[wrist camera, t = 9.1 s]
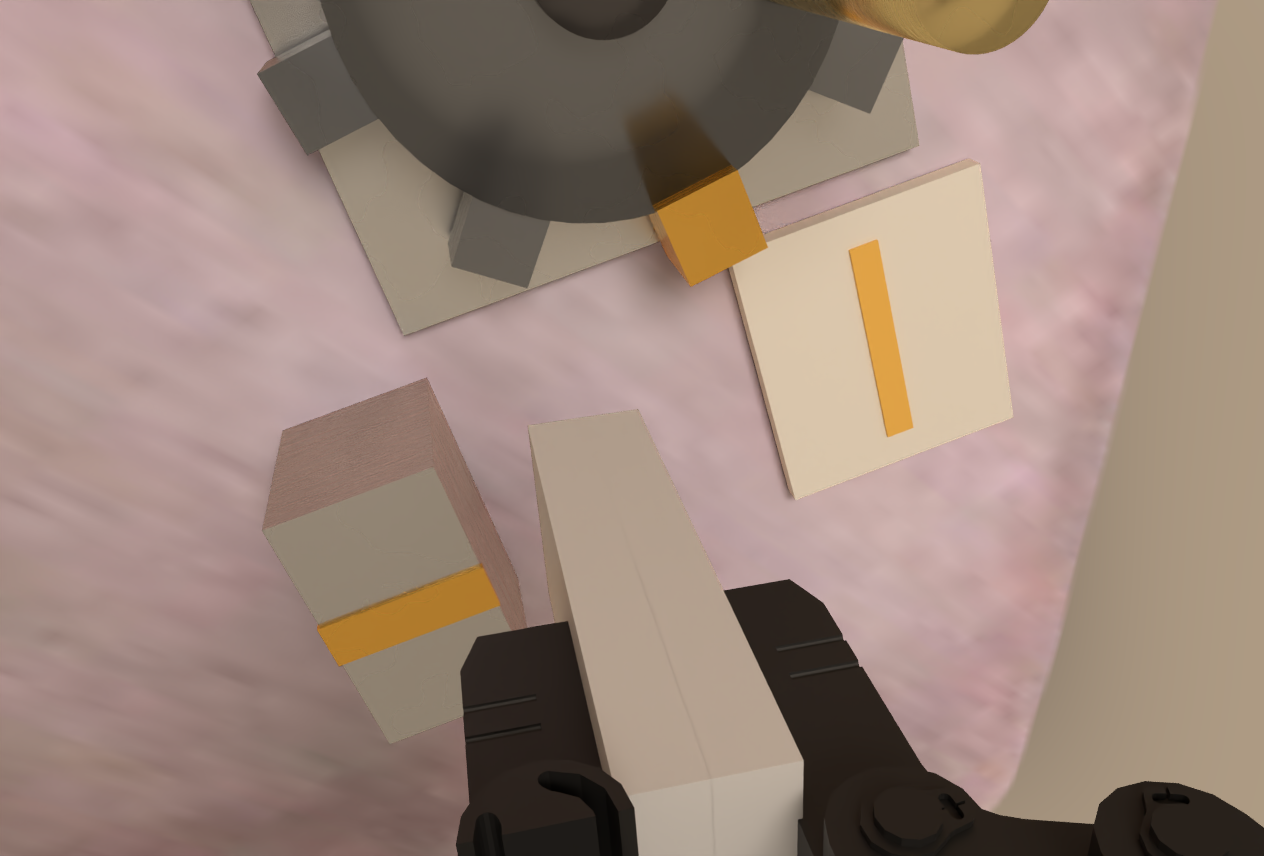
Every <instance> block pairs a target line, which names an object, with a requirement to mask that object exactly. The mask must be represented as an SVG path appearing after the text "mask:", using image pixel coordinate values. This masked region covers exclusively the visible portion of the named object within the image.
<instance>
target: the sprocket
mask: <svg viewBox="0 0 1264 856" xmlns="http://www.w3.org/2000/svg"><path fill="white" fill-rule="evenodd" d="M1048 1H1049V0H320V2H321V6H322V9H323V12H324V15H325V18H326V20H327V23H328V26H329V30H327V31H325V32H323V33H321V34H319V35H317V36H315V37H313V38H311V39H309V40H307V41H305V42H304V43H302V44H300V45H298V46H296V47H294V48H292V49H290V50H288V51H286V52H284V53H282V54H280V55H278V56H277V57H275V58H273V59H271V60H269V61H267V62H266V63H265V64H264V66H263V67H262V68H261V70H260V71H259V72H258V73H257V75H258V76H259V78H260V79H261V81H262V83H263V84H264V86H265V87H266V89H267V91H268V92H269V94H270V96H271V97H272V99H273V100H274V102H275V104H276V105H277V107H278V109H279V110H280V112H281V113H282V115H283V117H284V118H285V120H286V121H287V123H288V125H289V126H290V128H291V130H292V131H293V133H294V134H295V136H296V138H297V139H298V141H299V143H300V144H301V146H302V147H303V149H304V151H305V152H306V154H307V155H309V154H311V153H313V152H315V151H317V150H319V149H321V148H323V147H325V146H327V145H329V144H331V143H333V142H335V141H337V140H338V139H340V138H342V137H344V136H346V135H348V134H350V133H352V132H354V131H356V130H358V129H360V128H362V127H364V126H366V125H368V124H370V123H371V122H373V121H375V120H377V119H380V121H381V122H382V123H383V124H384V126H385V127H386V128H387V129H388V130H389V132H390V133H391V134H392V135H393V136H394V138H395V139H396V140H397V141H398V142H400V143H401V144H402V145H403V146H404V147H405V148H406V149H407V150H408V151H409V152H410V153H411V154H412V155H413V156H414V157H415V158H417V159H418V160H419V161H420V162H421V163H422V164H423V165H425V166H426V167H427V168H429V169H430V170H432V171H433V172H434V173H436V174H437V175H438V176H440V177H441V178H443V179H444V180H445V181H447V182H448V183H449V184H451V185H453V186H455V187H457V188H459V189H460V190H462V191H463V194H462V198H461V201H460V204H459V207H458V211H457V214H456V217H455V221H454V224H453V227H452V231H451V234H450V237H449V241H448V248H449V255H450V261H451V267H454V268H458V269H461V270H465V271H468V272H472V273H475V274H479V275H482V276H486V277H489V278H493V279H496V280H500V281H503V282H507V283H510V284H514V285H517V286H521V287H524V288H527V289H528V286H529V283H530V280H531V277H532V274H533V271H534V268H535V265H536V262H537V259H538V256H539V253H540V251H541V248H542V245H543V242H544V239H545V236H546V233H547V230H548V227H549V224H550V221H556V222H565V223H608V222H614V221H621V220H628V219H635V218H639V217H642V216H646V215H649V218H650V220H651V222H652V224H653V226H654V229H655V231H656V233H657V235H658V237H659V240H660V242H661V244H662V246H663V249H664V251H665V253H666V255H667V257H668V258H669V259H670V261H671V262H672V263H673V264H674V266H675V267H676V268H677V270H678V271H679V272H680V274H681V275H682V276H683V277H684V279H685V280H686V281H687V283H688V284H689V285H690V287H691V286H693V285H695V284H697V283H699V282H701V281H703V280H705V279H707V278H709V277H711V276H713V275H715V274H717V273H719V272H721V271H723V270H725V269H727V268H729V267H731V266H733V265H735V264H737V263H739V262H741V261H743V260H745V259H747V258H749V257H751V256H753V255H755V254H757V253H759V252H761V251H762V250H764V249H766V248H768V246H767V243H766V241H765V238H764V236H763V233H762V231H761V228H760V226H759V223H758V221H757V218H756V215H755V213H754V210H753V208H752V205H751V203H750V200H749V198H748V195H747V193H746V190H745V187H744V185H743V182H742V180H741V177H740V175H739V172H738V170H739V169H740V168H741V167H742V166H744V165H745V164H746V163H748V162H749V161H750V160H751V159H752V158H753V157H754V156H755V155H756V154H757V153H758V152H759V151H760V150H761V149H762V148H763V147H764V146H765V145H767V144H768V143H769V142H770V141H771V140H772V139H773V137H774V136H775V135H776V134H777V132H778V131H779V130H780V129H781V128H782V126H783V125H784V124H785V123H786V122H787V120H788V119H789V118H790V117H791V115H792V114H793V113H794V111H795V110H796V108H797V107H798V105H799V104H800V102H801V100H802V99H803V97H804V96H805V94H806V93H807V91H808V90H810V91H813V92H815V93H818V94H820V95H823V96H825V97H828V98H831V99H833V100H836V101H838V102H841V103H843V104H846V105H848V106H851V107H854V108H856V109H859V110H861V111H864V112H866V113H869V114H870V113H871V111H872V109H873V106H874V104H875V102H876V100H877V97H878V95H879V93H880V91H881V88H882V86H883V84H884V82H885V79H886V77H887V75H888V72H889V70H890V68H891V66H892V63H893V61H894V59H895V57H896V54H897V52H898V50H899V48H900V45H901V43H902V41H903V38H907V39H910V40H914V41H918V42H922V43H925V44H929V45H933V46H936V47H940V48H944V49H947V50H951V51H955V52H959V53H964V54H984V53H989V52H992V51H996V50H998V49H1001V48H1003V47H1005V46H1007V45H1008V44H1010V43H1012V42H1014V41H1015V40H1016V39H1018V38H1019V37H1020V36H1022V35H1023V34H1024V33H1025V32H1026V31H1027V30H1028V29H1029V28H1030V27H1031V26H1032V25H1033V23H1034V22H1035V21H1036V20H1037V19H1038V17H1039V16H1040V14H1041V13H1042V11H1043V10H1044V8H1045V6H1046V4H1047V3H1048Z"/></svg>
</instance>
